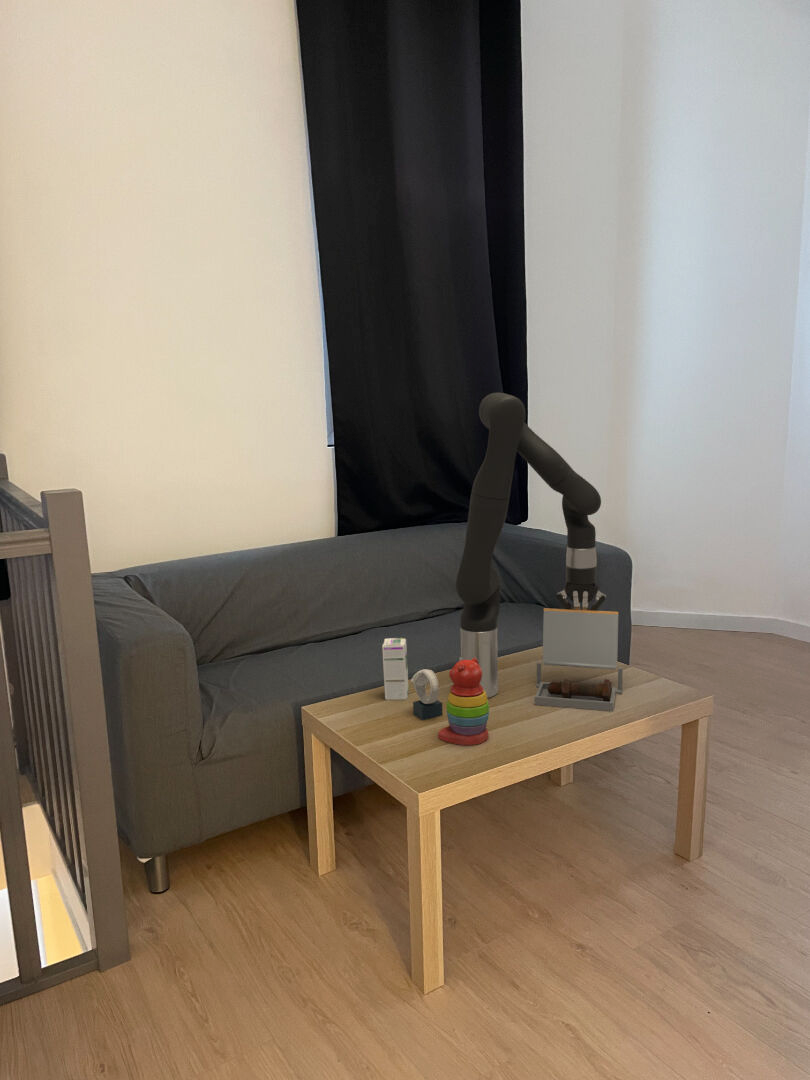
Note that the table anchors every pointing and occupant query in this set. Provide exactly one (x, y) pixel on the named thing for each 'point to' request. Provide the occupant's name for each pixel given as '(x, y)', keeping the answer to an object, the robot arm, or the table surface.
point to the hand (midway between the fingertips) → (581, 629)
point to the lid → (580, 638)
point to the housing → (575, 701)
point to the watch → (426, 705)
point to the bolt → (581, 689)
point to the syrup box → (395, 669)
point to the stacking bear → (466, 706)
